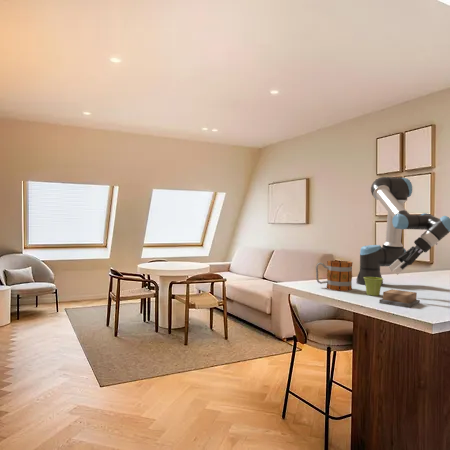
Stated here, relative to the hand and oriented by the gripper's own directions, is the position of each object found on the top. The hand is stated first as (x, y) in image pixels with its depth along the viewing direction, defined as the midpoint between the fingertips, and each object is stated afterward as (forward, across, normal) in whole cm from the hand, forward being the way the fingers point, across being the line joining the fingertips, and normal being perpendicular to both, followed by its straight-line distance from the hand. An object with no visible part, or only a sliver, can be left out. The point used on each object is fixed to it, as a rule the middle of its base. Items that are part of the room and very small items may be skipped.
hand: (392, 271), depth 194 cm
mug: (+29, +14, +11) cm, 34 cm away
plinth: (+9, -17, -9) cm, 21 cm away
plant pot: (+16, +1, -3) cm, 16 cm away
